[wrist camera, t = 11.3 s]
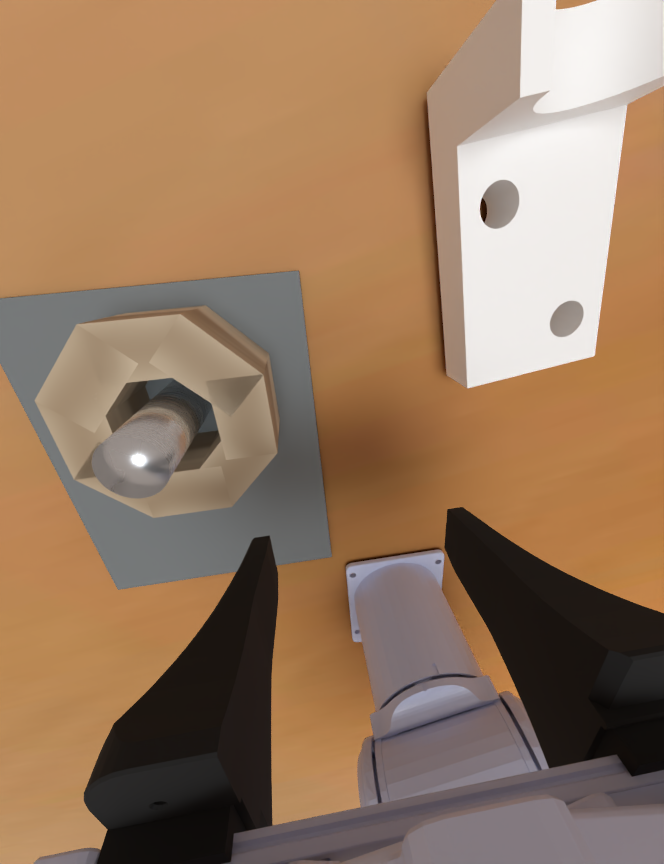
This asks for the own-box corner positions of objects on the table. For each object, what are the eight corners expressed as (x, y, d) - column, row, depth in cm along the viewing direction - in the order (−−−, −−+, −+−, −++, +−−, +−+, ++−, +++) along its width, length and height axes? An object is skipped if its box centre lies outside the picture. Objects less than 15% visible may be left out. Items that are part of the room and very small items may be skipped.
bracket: (419, 103, 15) (523, -36, 9) (566, 66, 15) (786, -99, 9) (440, 371, 21) (512, 416, 14) (548, 344, 21) (671, 376, 14)
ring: (286, 457, 22) (285, 499, 18) (134, 477, 21) (97, 525, 17) (260, 299, 18) (251, 306, 13) (69, 318, 17) (-1, 331, 13)
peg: (219, 414, 20) (178, 493, 13) (174, 420, 20) (107, 502, 13) (208, 372, 19) (156, 432, 12) (161, 377, 19) (79, 441, 11)
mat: (331, 554, 26) (331, 556, 26) (119, 586, 25) (118, 589, 25) (298, 270, 17) (298, 270, 17) (-27, 301, 16) (-32, 301, 16)
